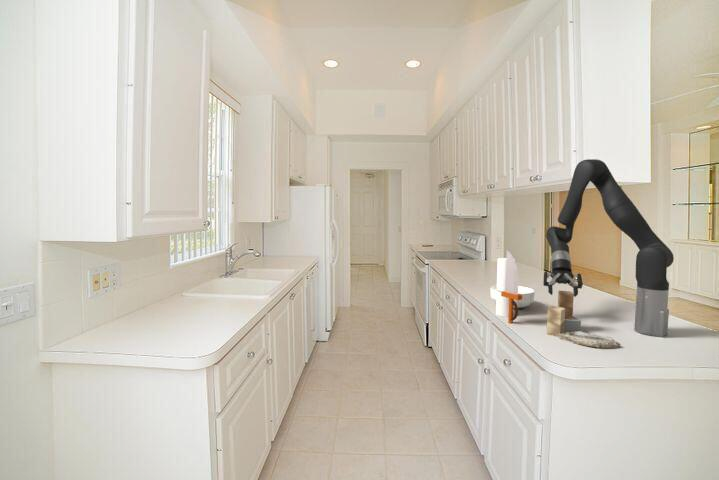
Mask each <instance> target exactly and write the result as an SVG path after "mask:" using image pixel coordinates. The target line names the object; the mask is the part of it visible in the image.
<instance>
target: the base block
mask: <svg viewBox="0 0 719 480" xmlns="http://www.w3.org/2000/svg"><path fill="white" fill-rule="evenodd" d="M581 325H582V320H580V319H579V318H577V317H575V316H574V315H573V319H572V320H570V319H565V320H564V333H566V332H575V331H582V329H581V328H582V326H581Z"/></svg>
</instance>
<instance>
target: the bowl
mask: <svg viewBox="0 0 719 480" xmlns="http://www.w3.org/2000/svg"><path fill="white" fill-rule="evenodd" d="M496 293H497V284H495V285H492V286H491V287H490V298H491V299H492V300H493V302H495V303H496ZM518 294H520V295H522V300H515V299H514V301H515V302H516V304H517V307H518V309H523V308H526V307H528V306H530V305H531V304H532V302H534V300H535V290H534V289H533V288H530V287H525V286H521V285H518ZM513 309H515V307H514V305H513Z"/></svg>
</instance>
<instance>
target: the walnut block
mask: <svg viewBox="0 0 719 480" xmlns="http://www.w3.org/2000/svg"><path fill="white" fill-rule="evenodd" d="M557 295H558V296H557V297H558V298H557V307H561V308H565V319H570V320H572V319H573V316H574V314H573V313H574V298H575V297H574V293H573V292H572V291H570V290H568V291H566V290H558V294H557Z"/></svg>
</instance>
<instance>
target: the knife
mask: <svg viewBox="0 0 719 480" xmlns="http://www.w3.org/2000/svg"><path fill="white" fill-rule="evenodd" d="M505 258H506V276H505V291H502V292H501V296H503V297H507V298H509V315H508V317H507V320H508V321H507V322H508V324H513V323H514V321H516V319H517V318H518V314H519V308H518V307H517V304H516V302H515V301H514V299H515V300H522V295H520V294H518V286H519V273H518V272H519V271H518V266H517V264H516V260H515V261H514V259H515V258H514V257H513V255H512V253H511V252H510V251H509V250H506V257H505ZM513 305H514V307H515V308H513Z"/></svg>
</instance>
